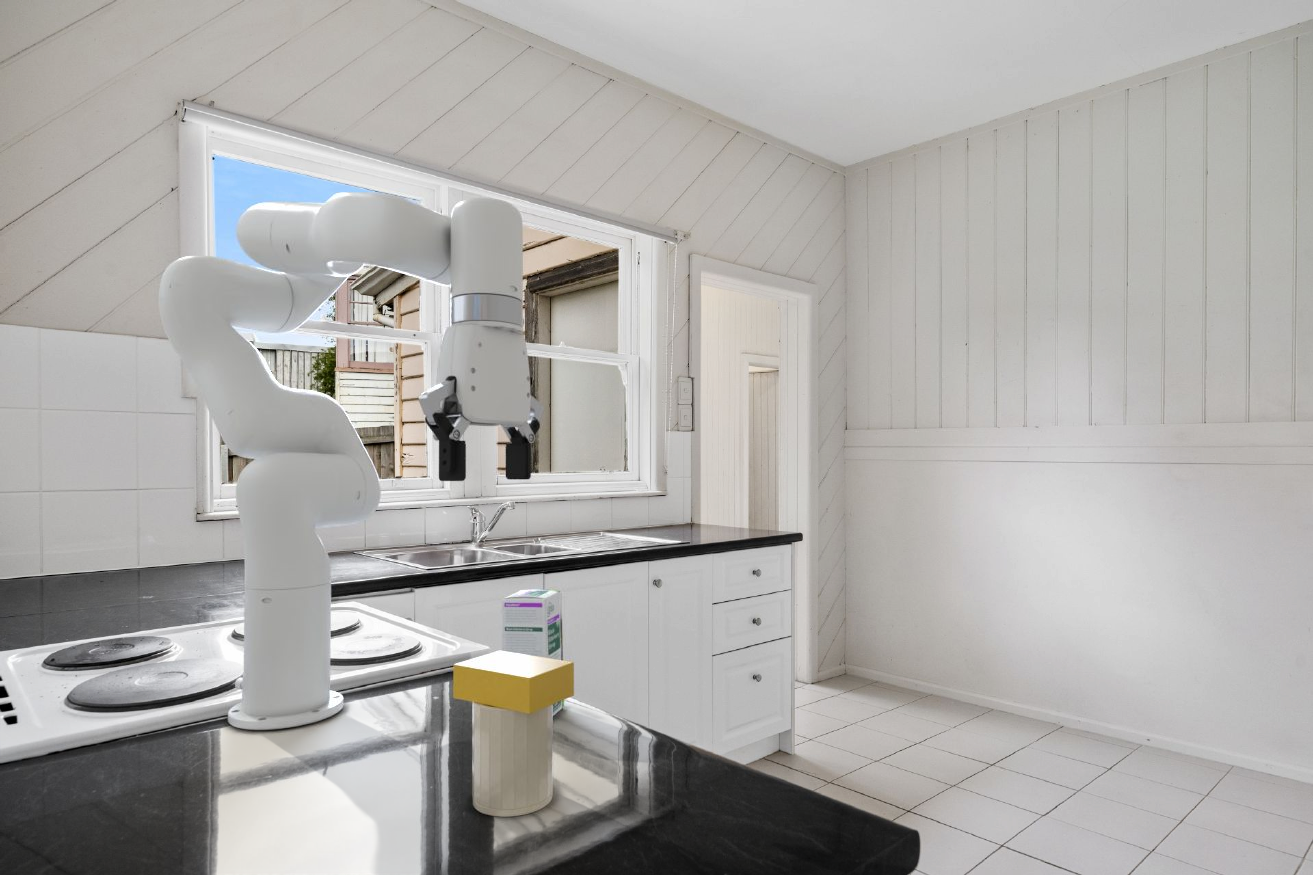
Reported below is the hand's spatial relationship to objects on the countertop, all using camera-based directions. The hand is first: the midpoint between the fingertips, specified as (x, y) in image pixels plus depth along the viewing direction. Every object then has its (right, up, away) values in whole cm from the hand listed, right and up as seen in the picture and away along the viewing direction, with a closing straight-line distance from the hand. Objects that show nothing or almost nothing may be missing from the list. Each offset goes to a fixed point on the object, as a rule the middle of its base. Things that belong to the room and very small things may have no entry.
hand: (486, 480), depth 80 cm
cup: (+5, -28, -12) cm, 31 cm away
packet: (+5, -19, -12) cm, 23 cm away
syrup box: (+3, -29, +11) cm, 31 cm away
